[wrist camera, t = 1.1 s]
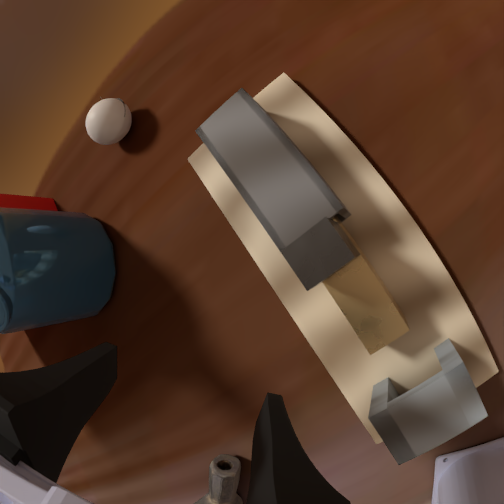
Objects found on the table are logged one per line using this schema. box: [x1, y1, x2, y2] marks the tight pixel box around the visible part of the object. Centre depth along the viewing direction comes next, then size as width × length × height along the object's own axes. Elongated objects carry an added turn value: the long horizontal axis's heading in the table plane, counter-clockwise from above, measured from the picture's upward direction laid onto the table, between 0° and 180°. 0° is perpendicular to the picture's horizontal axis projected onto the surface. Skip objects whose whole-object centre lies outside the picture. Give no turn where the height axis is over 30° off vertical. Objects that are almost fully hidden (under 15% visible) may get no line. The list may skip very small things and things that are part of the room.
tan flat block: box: [280, 215, 409, 355], centre depth 19 cm, size 20×3×7 cm, turn 36°
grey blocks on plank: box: [188, 73, 499, 465], centre depth 21 cm, size 31×12×6 cm, turn 36°
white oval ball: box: [86, 98, 132, 145], centre depth 31 cm, size 8×6×6 cm
